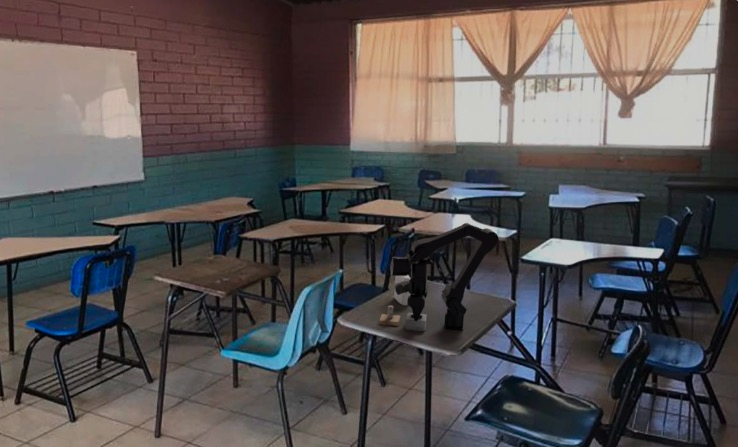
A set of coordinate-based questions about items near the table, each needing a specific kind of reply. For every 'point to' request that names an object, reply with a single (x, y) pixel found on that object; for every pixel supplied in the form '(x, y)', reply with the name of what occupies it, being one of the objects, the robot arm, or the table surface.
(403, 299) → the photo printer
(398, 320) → the tan knobbed plate
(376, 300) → the table surface
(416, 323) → the hollow square frame
